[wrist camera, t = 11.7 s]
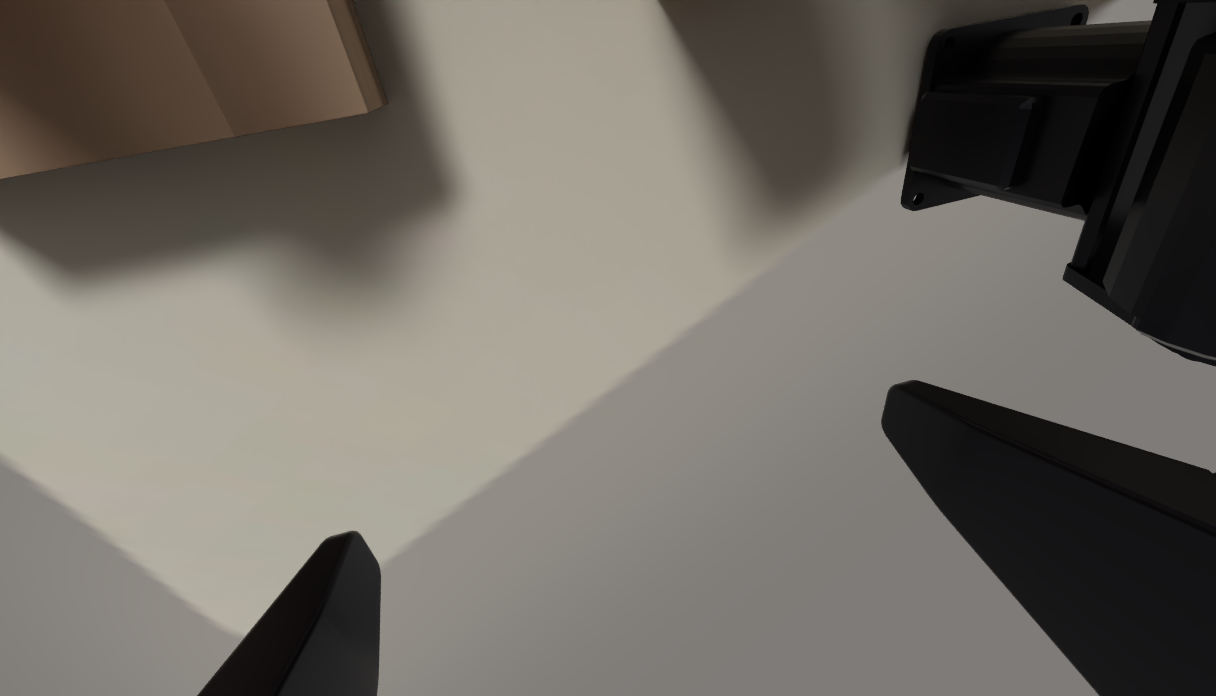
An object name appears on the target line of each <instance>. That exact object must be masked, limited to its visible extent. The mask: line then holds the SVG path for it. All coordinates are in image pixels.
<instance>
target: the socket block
mask: <svg viewBox="0 0 1216 696" xmlns="http://www.w3.org/2000/svg"><path fill="white" fill-rule="evenodd" d="M387 103H388V102H387V99H386V96H385V93H384V90H383V87H382V84H381V82H380V79H379V76H378V73H377V70H376V67H375V64H374V62H373V59H372V56H371V53H370V50H369V47H368V44H367V41H366V39H365V36H364V33H363V30H362V27H361V24H360V21H359V18H358V16H357V13H356V10H355V7H354V4H353V1H352V0H0V179H2V178H8V177H14V176H19V175H25V174H30V173H36V172H41V171H47V170H53V169H58V168H64V167H69V166H75V165H80V164H86V163H92V162H97V161H103V160H108V159H114V158H119V157H125V156H131V155H136V154H142V153H147V152H153V151H158V150H164V149H170V148H175V147H181V146H186V145H192V144H197V143H203V142H209V141H214V140H220V139H225V138H231V137H236V136H242V135H248V134H253V133H259V132H264V131H270V130H275V129H281V128H287V127H292V126H298V125H303V124H309V123H314V122H320V121H325V120H331V119H337V118H342V117H348V116H353V115H359V114H364V113H369V112H371V111H373V110H375V109H377V108H379V107H381V106H383V105H385V104H387Z"/></svg>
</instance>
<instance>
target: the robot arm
mask: <svg viewBox="0 0 1216 696" xmlns="http://www.w3.org/2000/svg"><path fill="white" fill-rule="evenodd" d="M1153 3H1158V4H1157V7H1156V10H1155V13H1154V16H1153V19H1152V21H1137V22H1121V23H1108V24H1107V23H1106V24H1090V25H1086V22H1087V19H1088V14H1089V11H1088V7H1087V6H1086V5H1082V4H1081V5H1071V6H1065V7H1060V8H1055V9H1049V10H1044V11H1039V12H1033V13H1028V14H1022V15H1017V16H1012V17H1006V18H1001V19H995V20H990V21H985V22H979V23H974V24H969V25H963V26H958V27H952V28H947V29H943V30H940V31H938V32H937V33H936V34H935V35H934V36H933V38H932V39H931V41H930V43H929V46H928V51H927V57H926V62H925V68H924V73H923V79H922V84H921V90H920V96H919V101H918V107H917V112H916V118H915V123H914V129H913V135H912V140H911V146H910V151H909V157H908V162H907V168H906V174H905V179H904V185H903V190H902V196H901V205H902V206H903V207H904V208H906V209H909V210H912V211H917V210H922V209H925V208H929V207H934V206H938V205H942V204H946V203H950V202H954V201H958V200H963V199H967V198H971V197H975V196H979V195H983V196H987V197H991V198H995V199H1000V200H1003V201H1007V202H1011V203H1015V204H1019V205H1023V206H1027V207H1031V208H1035V209H1039V210H1043V211H1047V212H1051V213H1055V214H1059V215H1063V216H1067V217H1071V218H1075V219H1079V220H1083V221H1085V223H1084V226H1083V229H1082V232H1081V235H1080V238H1079V241H1078V244H1077V247H1076V250H1075V253H1074V256H1073V259H1072V262H1070V263H1068V264H1067V266H1066V269H1065V272H1064V275H1063V280H1064V281H1066V282H1067V283H1069V284H1070V285H1072V286H1073V287H1074V288H1076V289H1077V290H1079V291H1080V292H1082V293H1084V294H1085V295H1086V296H1088V297H1090V298H1091V299H1093V300H1094V301H1095V302H1097V303H1098V304H1100V305H1102V306H1103V307H1104V308H1106V309H1107V310H1109V311H1110V312H1112V313H1113V314H1115V315H1116V316H1118V317H1119V318H1121V319H1122V320H1124V321H1125V322H1127V323H1128V324H1130V325H1131V326H1132V327H1134V328H1135V329H1136V330H1137V331H1138V332H1139V333H1141V334H1142V335H1144V336H1147V337H1149V338H1151V339H1152V340H1154V341H1155V342H1157V343H1158V344H1160V345H1162V346H1164V347H1165V348H1167V349H1169V350H1171V351H1172V352H1175V353H1177V354H1179V355H1181V356H1182V357H1184V358H1186V359H1189V360H1192V361H1198V362H1202V363H1206V364H1209V365H1212V366H1216V0H1154V2H1153ZM945 41H946V46H945V49H944V50H943V45H944V42H945ZM916 195H917V196H916ZM915 196H916V198H915V200H914V201H913V199H914V197H915ZM881 424H882V428H883V431H884V433H885V434H886V436H887V438H888V439H889V441H890V442H891V443H892V445H893V446H894V447H895V449H896V450H897V452H898V453H899V455H900V456H901V457H902V459H903V460H904V462H905V463H906V464H907V466H908V467H909V469H910V470H911V471H912V473H913V474H914V476H915V477H916V478H917V479H918V481H919V483H920V484H921V486H922V487H923V488H924V490H925V491H926V493H927V494H928V495H929V497H930V498H931V499H932V501H933V502H934V503H935V505H936V506H937V507H938V508H939V510H940V511H941V512H942V513H943V515H944V516H945V517H946V518H947V519H948V521H949V522H950V523H951V524H952V525H953V526H954V527H955V529H956V530H957V531H958V532H959V533H960V535H961V536H962V537H963V538H964V539H965V540H966V542H967V543H968V544H969V545H970V546H971V547H972V549H974V551H975V552H976V553H977V554H978V555H979V557H980V558H981V559H982V560H983V561H984V562H985V564H986V565H987V566H988V567H989V568H990V569H991V570H992V572H993V573H994V574H995V575H996V576H997V577H998V579H999V580H1000V581H1001V582H1002V583H1003V584H1004V585H1005V587H1006V588H1007V589H1008V590H1009V591H1010V593H1011V594H1012V595H1013V596H1014V597H1015V598H1016V600H1017V601H1018V602H1019V603H1020V604H1021V605H1022V607H1023V608H1024V609H1025V610H1026V611H1027V612H1028V613H1029V615H1030V616H1031V617H1032V618H1033V619H1034V620H1035V622H1036V623H1037V624H1038V625H1039V626H1040V627H1041V629H1042V630H1043V631H1044V632H1045V633H1046V634H1047V635H1048V637H1049V638H1050V639H1051V640H1052V641H1053V643H1054V644H1055V645H1056V646H1057V647H1058V648H1059V649H1060V651H1061V652H1062V653H1063V654H1064V655H1065V656H1066V658H1067V659H1068V660H1069V661H1070V662H1071V663H1072V665H1073V666H1074V667H1075V668H1076V669H1077V670H1078V672H1079V673H1080V674H1081V675H1082V676H1083V677H1084V679H1085V680H1086V681H1087V682H1088V683H1089V684H1090V685H1091V687H1092V688H1093V689H1094V690H1095V691H1096V692H1097V693H1098V695H1099V696H1216V473H1212V472H1210V471H1209V470H1207V469H1203V468H1200V467H1197V466H1194V465H1191V464H1187V463H1184V462H1181V461H1178V460H1174V459H1171V458H1168V457H1165V456H1161V455H1158V454H1155V453H1152V452H1148V451H1145V450H1142V449H1139V448H1135V447H1132V446H1129V445H1126V444H1122V443H1119V442H1116V441H1113V440H1109V439H1106V438H1103V437H1100V436H1096V435H1093V434H1090V433H1087V432H1083V431H1080V430H1077V429H1074V428H1070V427H1067V426H1064V425H1060V424H1057V423H1054V422H1051V421H1047V420H1044V419H1041V418H1038V417H1035V416H1031V415H1028V414H1025V413H1022V412H1018V411H1015V410H1012V409H1009V408H1005V407H1002V406H999V405H996V404H992V403H989V402H986V401H983V400H979V399H976V398H973V397H970V396H966V395H963V394H960V393H957V392H954V391H950V390H947V389H943V388H940V387H937V386H934V385H931V384H928V383H924V382H921V381H917V380H911V381H907V382H903V383H899V384H895V385H893V386H892V387H891V388H890V389H889V391H888V394H887V398H886V402H885V406H884V411H883V415H882V420H881ZM380 601H381V572H380V567H379V564H378V562H377V560H376V558H375V557H374V555H373V553H372V552H371V550H370V548H369V547H368V545H367V544H366V542H365V540H364V539H363V537H362V536H361V534H360V533H359V532H357V531H349V532H345V533H341V534H338V535H334V536H330V537H328V538H327V539H325V540H324V541H323V542H322V543H321V544H320V546H319V547H318V548H317V549H316V551H315V552H314V553H313V554H312V555H311V557H310V558H309V559H308V560H307V562H306V563H305V564H304V565H303V567H302V568H301V569H300V570H299V571H298V573H297V574H296V575H295V576H294V578H293V579H292V580H291V581H290V582H289V584H288V585H287V586H286V587H285V589H284V590H283V591H282V592H281V594H280V595H279V596H278V597H277V598H276V600H275V601H274V602H273V603H272V605H271V606H270V607H269V608H268V609H267V611H266V612H265V613H264V614H263V616H262V617H261V618H260V619H259V620H258V622H257V623H256V624H255V625H254V627H253V628H252V629H251V630H250V632H249V633H248V634H247V635H246V636H245V638H244V639H243V640H242V641H241V643H240V644H239V645H238V646H237V648H236V649H235V650H234V651H233V652H232V654H231V655H230V656H229V657H228V659H227V660H226V661H225V662H224V663H223V665H222V666H221V667H220V668H219V670H218V671H217V672H216V673H215V675H214V676H213V677H212V678H211V680H210V681H209V682H208V683H207V684H206V685H205V687H204V688H203V689H202V691H201V692H200V693H199V694H198V695H197V696H377V689H378V677H379V645H380V643H379V642H380Z"/></svg>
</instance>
